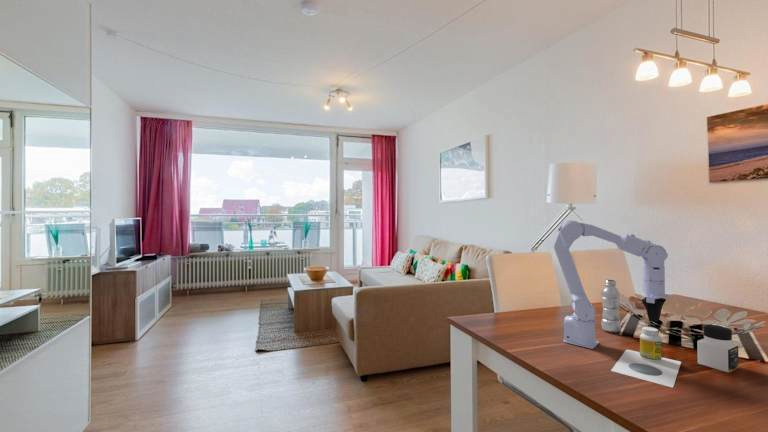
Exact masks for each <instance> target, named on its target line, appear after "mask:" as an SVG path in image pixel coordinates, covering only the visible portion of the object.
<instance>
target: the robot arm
mask: <svg viewBox="0 0 768 432" xmlns="http://www.w3.org/2000/svg"><path fill="white" fill-rule="evenodd" d="M581 236H582V237H595V238H599V239H601V240H603V241H607V242H610V243H613V244H615V245H616V246H617V248H618V250H620V251H623V252H626V253H629V254H631V255H633V256H637V257H640V258H642V292H641V293H642V295H643V296H644V297H643V298H642V299H641V303H642V304H643V306H644V308H645V310H646V315H647V318H648V321H649V322H651V323H658V322H659V320H660V318H661V313H662V308H663V307H664V304H665V302H666V301H667V299H666V298H670V297H671V296H670V293H666V285H665V284H666V277H665V276H666V275H665V274H666V273H665V269H666V268H665V260H667V259H668V256H669V253H667V250H666V249H665V248H664V246H661V245H659V244H656V243H653V242H652V241H651V240H649V239H646V240H645V239H642V238H640V237H639V238H638V237H637V236H636V235H635V234H634V233H629V234H628V233H624V234H622V235H619V234H616V233H613V232H611V231H608V230H606V229H604V228H600V227H598V226H596V225H593V224H589V223H584V222H578V221H576V220H565V221H564V222H563V223H562V224H560V227H558V229H557V233H556V236H555V238H554V242H553V249H554V252H555V254H556V255H555V256H556V257H557V260H558V263H559V266H560V268H561V271H562V274H563V277H564V280H565V283H566V285H567V288H568V291H569V294H570V297H571V301H572V302H571V309H572V310H573V311H574V312H573V313H572V314H571V315H566V316H565V317H564V321H563V342H564V343H568V344H571V345H575V346H580V347H583V348H587V349H592V350H593V349H595V348H596V346H598V345H599V344H600V342H599V341H598V340H596V318H595V317H596V313H597V312H596V309H595V307H594V306H593V305H592V304H591V301H590V300H589V299H588V296H587V294H586V292H585V289H584V286H583V284H582V281H581V278H580V275H579V273H578V270H577V267H576V265H575V261H574V259H573V257H572V253H571V251H570V248H571V246H572V245H573V243H574V242H575V241H577V240H578V239H579V238H580V237H581Z"/></svg>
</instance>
